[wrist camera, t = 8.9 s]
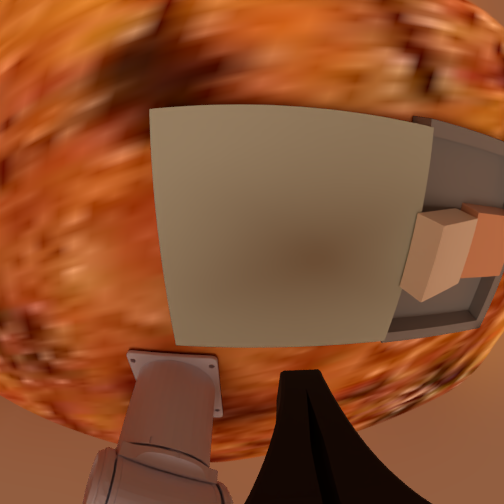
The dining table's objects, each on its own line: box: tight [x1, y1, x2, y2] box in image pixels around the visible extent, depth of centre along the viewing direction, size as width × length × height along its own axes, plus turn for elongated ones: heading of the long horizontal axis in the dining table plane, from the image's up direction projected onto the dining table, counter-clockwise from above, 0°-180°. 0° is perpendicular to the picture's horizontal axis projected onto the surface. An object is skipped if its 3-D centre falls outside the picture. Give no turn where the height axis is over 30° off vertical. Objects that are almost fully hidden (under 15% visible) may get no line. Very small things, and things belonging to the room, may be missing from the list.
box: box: [381, 116, 504, 343], centre depth 18 cm, size 16×11×2 cm
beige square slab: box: [150, 105, 434, 347], centre depth 17 cm, size 15×15×2 cm
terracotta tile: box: [460, 203, 504, 278], centre depth 17 cm, size 5×5×2 cm
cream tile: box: [399, 208, 478, 302], centre depth 16 cm, size 5×5×2 cm
